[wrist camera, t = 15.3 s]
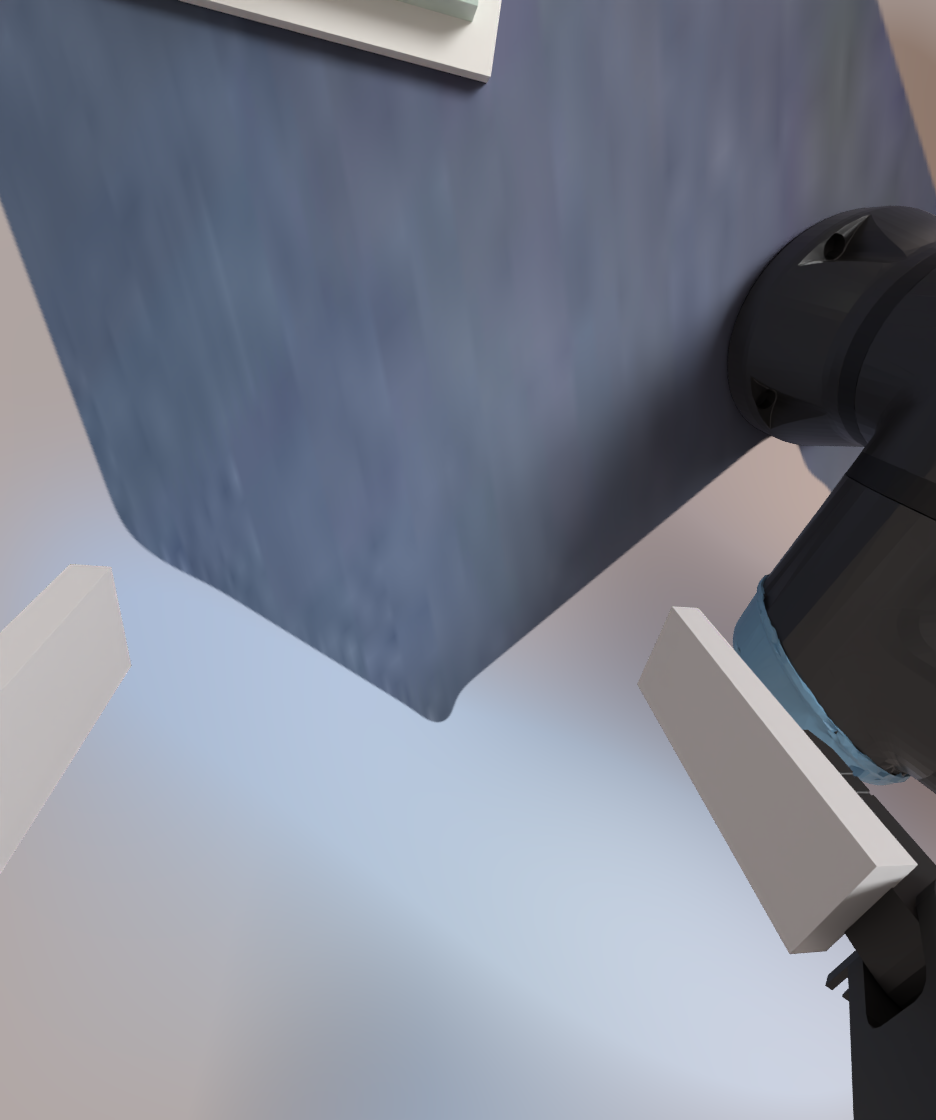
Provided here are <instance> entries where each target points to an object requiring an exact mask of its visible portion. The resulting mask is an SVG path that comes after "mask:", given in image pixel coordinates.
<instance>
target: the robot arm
mask: <svg viewBox="0 0 936 1120" xmlns="http://www.w3.org/2000/svg"><path fill="white" fill-rule="evenodd" d="M728 381H729V386H730V391H731V394H732V397H733V400H734V402H735V404H736V406H737V408H738V409H739V411H740V413H741V414H742V415H743V416H744V418H745V419H746V420H747V421H748V422H749V423H751V424H752V425H753V426H754V427H756V428H757V429H759V430H761V431H763V432H765V433H767V434H769V435H771V436H773V437H775V438H778V439H780V440H782V441H785V442H789V443H793V444H798V445H806V446H853V447H865V448H864V449H863V450H862V452H861V453H860V455H859V456H858V457H857V459H856V460H855V462H854V463H853V464H852V466H851V467H850V468H849V470H848V471H847V472H846V473H845V474H844V476H843V477H842V478H841V480H840V481H839V482H838V484H837V485H836V487H835V488H834V489H833V491H832V492H831V494H830V495H829V497H828V498H827V499H826V501H825V502H824V503H823V505H822V506H821V507H820V509H819V510H818V511H817V513H816V514H815V515H814V516H813V518H812V519H811V521H810V522H809V523H808V525H807V526H806V527H805V528H804V530H803V531H802V533H801V534H800V535H799V536H798V538H797V539H796V540H795V542H794V543H793V544H792V546H791V547H790V548H789V550H788V551H787V552H786V554H785V555H784V556H783V558H782V559H781V560H780V562H779V563H778V564H777V565H776V567H775V568H774V569H773V571H772V572H771V573H770V574H769V575H765V576H764V577H763V578H762V579H761V581H760V582H759V585H758V587H757V593H756V594H755V596H754V597H753V599H752V600H751V602H750V603H749V605H748V607H747V608H746V609H745V611H744V612H743V614H742V615H741V617H740V619H739V620H738V622H737V624H736V626H735V629H734V634H733V648H734V649H733V648H732V647H731V646H730V645H729V644H728V642H727V641H726V640H725V639H724V638H723V636H722V635H721V634H720V633H719V632H718V631H717V629H716V628H715V627H714V626H713V625H712V624H711V622H710V621H709V620H708V619H707V618H706V617H705V615H703V613H702V612H701V611H700V610H699V609H698V608H687V607H674V606H673V607H672V608H671V610H670V613H669V615H668V617H667V619H666V622H665V624H664V626H663V628H662V630H661V633H660V635H659V637H658V639H657V642H656V644H655V646H654V648H653V650H652V653H651V655H650V657H649V659H648V661H647V664H646V666H645V668H644V670H643V673H642V675H641V677H640V679H639V682H638V684H637V685H638V686H639V688H640V690H641V692H642V694H643V695H644V697H645V699H646V700H647V703H648V704H649V706H650V708H651V709H652V711H653V713H654V715H655V717H656V718H657V720H658V722H659V724H660V726H661V727H662V729H663V731H664V733H665V734H666V736H667V738H668V740H669V741H670V743H671V745H672V747H673V748H674V750H675V752H676V754H677V756H678V757H679V759H680V761H681V763H682V764H683V766H684V768H685V770H686V771H687V773H688V775H689V777H690V778H691V780H692V782H693V784H694V785H695V787H696V789H697V791H698V793H699V795H700V796H701V798H702V800H703V802H704V803H705V805H706V807H707V809H708V810H709V812H710V814H711V816H712V818H713V819H714V821H715V823H716V825H717V826H718V828H719V830H720V832H721V833H722V835H723V837H724V839H725V841H726V842H727V844H728V846H729V847H730V849H731V851H732V853H733V855H734V856H735V858H736V860H737V862H738V863H739V865H740V867H741V869H742V871H743V872H744V874H745V876H746V878H747V879H748V881H749V883H750V885H751V887H752V888H753V890H754V892H755V893H756V895H757V897H758V899H759V901H760V902H761V904H762V906H763V908H764V910H765V911H766V913H767V915H768V917H769V918H770V920H771V922H772V924H773V925H774V927H775V929H776V931H777V933H778V934H779V936H780V938H781V940H782V941H783V943H784V945H785V947H786V948H787V950H788V952H789V954H797V953H809V952H822V951H827V950H828V949H829V948H830V947H831V946H832V945H833V944H834V943H835V942H836V941H837V940H839V939H840V938H841V937H842V936H843V935H844V934H846V936H847V937H848V939H849V940H850V942H851V943H852V945H853V946H854V948H855V949H856V951H854V952H853V953H852V954H851V955H850V956H849V957H848V958H847V959H846V960H844V961H843V962H842V963H841V964H840V965H839V966H838V967H837V968H835V969H834V970H833V971H832V972H831V973H830V974H829V975H828V978H827V981H826V985H825V986H827V987H829V988H830V989H831V990H833V989H834V988H835V987H837V986H838V985H839V984H840V983H841V982H842V981H843V980H845V979H846V978H848V983H849V989H847V990H846V991H845V993H844V994H843V996H842V997H844V998H845V999H846V1000H848V1001H849V1009H850V1036H851V1061H852V1086H853V1087H852V1088H853V1112H854V1113H853V1114H854V1120H936V865H935V864H934V863H933V862H932V860H931V859H930V858H929V857H928V856H927V855H926V854H925V852H923V850H922V849H921V848H920V847H919V846H918V845H917V843H916V842H915V841H914V840H913V839H912V838H911V837H910V836H909V834H908V833H907V832H906V831H905V830H904V829H903V828H902V827H901V825H900V824H899V823H898V822H897V821H896V820H895V819H894V817H893V816H892V815H891V814H890V813H889V812H888V811H887V810H886V808H885V807H884V806H883V805H882V804H881V803H880V802H879V800H878V799H877V798H876V797H875V796H874V795H870V793H869V789H868V788H867V787H866V786H865V785H864V784H863V782H866V783H869V784H874V785H889V784H893V783H899V782H904V781H906V780H907V779H908V778H909V777H910V776H912V777H914V778H915V779H917V780H918V781H919V782H921V783H922V784H924V785H925V786H926V787H927V788H929V789H930V790H931V791H933V792H934V793H935V794H936V216H935V215H933V214H931V213H928V212H926V211H923V210H920V209H917V208H912V207H905V206H883V207H871V208H861V209H855V210H850V211H846V212H843V213H840V214H837V215H834V216H832V217H830V218H827V219H825V220H823V221H821V222H819V223H818V224H816V225H814V226H813V227H811V228H809V229H808V230H806V231H805V232H803V233H802V234H801V235H799V236H798V237H797V238H796V239H794V240H793V241H792V242H791V243H789V244H788V245H787V246H786V247H785V248H784V249H783V250H782V251H781V252H780V253H779V254H778V255H777V256H776V257H775V258H774V259H773V260H772V262H771V263H770V264H769V265H768V266H767V268H766V269H765V270H764V271H763V273H762V274H761V275H760V277H759V278H758V280H757V281H756V283H755V284H754V286H753V287H752V289H751V291H750V292H749V294H748V296H747V298H746V300H745V302H744V304H743V306H742V308H741V310H740V312H739V315H738V317H737V320H736V323H735V326H734V329H733V332H732V336H731V341H730V346H729V352H728ZM130 667H131V662H130V657H129V652H128V647H127V642H126V638H125V632H124V627H123V623H122V618H121V613H120V608H119V603H118V598H117V593H116V589H115V583H114V579H113V574H112V569H111V567H104V566H89V565H74V564H70V565H69V566H68V567H67V568H66V569H65V570H64V571H63V572H62V573H61V574H60V575H59V576H58V577H56V578H55V579H54V581H52V582H51V584H49V585H48V587H46V588H45V589H44V590H43V591H42V592H41V593H40V594H39V595H38V596H37V597H36V598H35V599H34V600H33V601H32V602H31V603H30V604H29V605H28V606H27V607H26V608H25V609H24V610H23V611H22V612H21V613H20V614H19V615H18V616H17V617H16V618H15V619H13V620H12V622H10V624H8V625H7V627H5V628H4V629H3V630H2V631H1V632H0V874H1V873H2V871H3V869H4V868H5V866H6V865H7V863H8V861H9V860H10V858H11V856H12V855H13V853H14V852H15V850H16V849H17V847H18V846H19V844H20V842H21V841H22V839H23V838H24V836H25V834H26V833H27V831H28V829H29V828H30V826H31V825H32V823H33V822H34V820H35V818H36V817H37V815H38V814H39V812H40V810H41V809H42V807H43V806H44V804H45V803H46V801H47V799H48V798H49V796H50V795H51V793H52V791H53V790H54V788H55V786H56V785H57V783H58V782H59V780H60V779H61V777H62V775H63V774H64V772H65V771H66V769H67V767H68V766H69V764H70V763H71V761H72V759H73V758H74V756H75V755H76V753H77V751H78V750H79V748H80V747H81V745H82V744H83V741H84V740H85V739H86V737H87V736H88V733H89V732H90V731H91V729H92V728H93V726H94V724H95V723H96V721H97V719H98V718H99V716H100V715H101V713H102V712H103V710H104V708H105V707H106V705H107V704H108V702H109V700H110V699H111V697H112V695H113V694H114V692H115V691H116V689H117V688H118V686H119V684H120V683H121V681H122V680H123V678H124V677H125V675H126V673H127V672H128V670H129V669H130ZM862 781H863V782H862Z"/></svg>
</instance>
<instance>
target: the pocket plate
mask: <svg viewBox="0 0 936 1120" xmlns="http://www.w3.org/2000/svg"><path fill="white" fill-rule="evenodd" d="M179 1H183V2H186V3H190V4H194V5H198V6H201V7H205V8H209V9H212V10H216V11H220V12H224V13H227V14H231V15H235V16H239V17H242V18H246V19H250V20H253V21H257V22H261V23H265V24H268V25H272V26H276V27H280V28H283V29H287V30H291V31H295V32H298V33H302V34H306V35H309V36H313V37H317V38H321V39H324V40H328V41H332V42H336V43H339V44H343V45H347V46H351V47H354V48H358V49H362V50H365V51H369V52H373V53H377V54H380V55H384V56H388V57H392V58H395V59H399V60H403V61H406V62H410V63H414V64H418V65H421V66H425V67H429V68H433V69H436V70H440V71H444V72H448V73H451V74H455V75H459V76H462V77H466V78H470V79H474V80H477V81H481V82H485V83H487V82H488V80H489V79H490V77H491V70H492V63H493V56H494V49H495V42H496V35H497V28H498V21H499V14H500V7H501V0H179Z"/></svg>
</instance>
